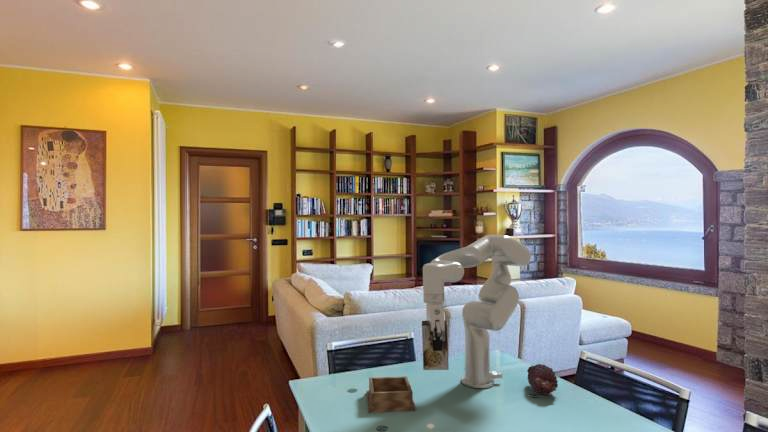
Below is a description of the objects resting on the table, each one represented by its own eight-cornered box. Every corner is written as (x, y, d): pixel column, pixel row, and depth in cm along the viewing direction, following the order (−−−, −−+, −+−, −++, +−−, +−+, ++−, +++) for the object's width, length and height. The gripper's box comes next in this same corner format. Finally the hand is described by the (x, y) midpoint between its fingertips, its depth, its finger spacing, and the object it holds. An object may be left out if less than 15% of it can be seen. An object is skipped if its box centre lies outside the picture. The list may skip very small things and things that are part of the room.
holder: (409, 391, 157) (409, 375, 157) (416, 410, 141) (416, 393, 141) (366, 393, 156) (366, 376, 156) (368, 412, 140) (368, 394, 140)
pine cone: (519, 383, 165) (519, 357, 165) (544, 382, 166) (544, 356, 166) (539, 402, 147) (538, 374, 147) (566, 401, 148) (566, 373, 148)
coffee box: (447, 363, 154) (446, 320, 154) (448, 370, 148) (447, 324, 148) (422, 363, 155) (421, 320, 155) (422, 370, 149) (421, 324, 149)
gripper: (450, 302, 143) (451, 354, 143) (439, 292, 160) (440, 339, 161) (428, 303, 142) (429, 355, 143) (419, 293, 160) (420, 340, 160)
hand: (435, 346), depth 152 cm, fingers closed on coffee box, 7 cm apart
